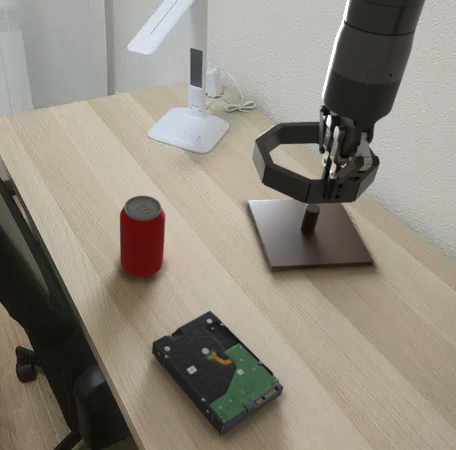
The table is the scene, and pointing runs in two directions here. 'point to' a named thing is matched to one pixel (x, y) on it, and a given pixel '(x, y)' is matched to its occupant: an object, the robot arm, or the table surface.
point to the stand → (307, 235)
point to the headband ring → (290, 180)
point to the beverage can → (142, 236)
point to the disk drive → (217, 371)
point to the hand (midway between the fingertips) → (329, 195)
